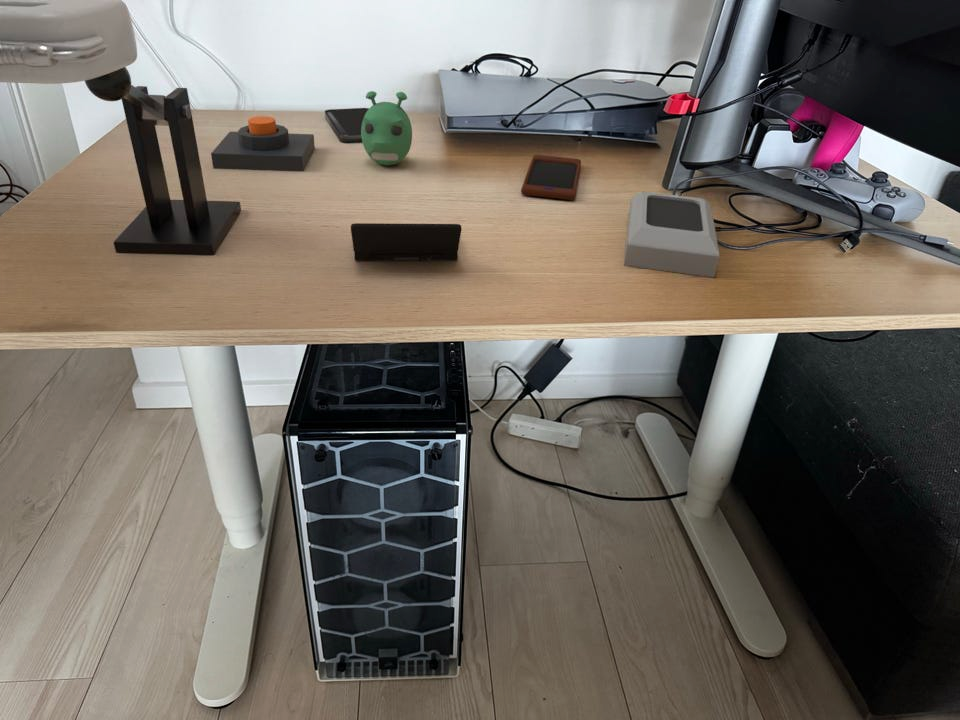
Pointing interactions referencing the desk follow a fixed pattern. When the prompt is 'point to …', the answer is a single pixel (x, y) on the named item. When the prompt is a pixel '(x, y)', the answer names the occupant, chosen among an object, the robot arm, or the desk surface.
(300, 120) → the desk surface
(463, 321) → the desk surface
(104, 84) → the lever
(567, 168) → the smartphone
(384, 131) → the alien toy
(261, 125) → the button
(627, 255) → the grey tapered block
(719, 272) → the desk surface
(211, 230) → the bracket
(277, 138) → the button box
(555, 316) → the desk surface
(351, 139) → the phone
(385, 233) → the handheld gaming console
